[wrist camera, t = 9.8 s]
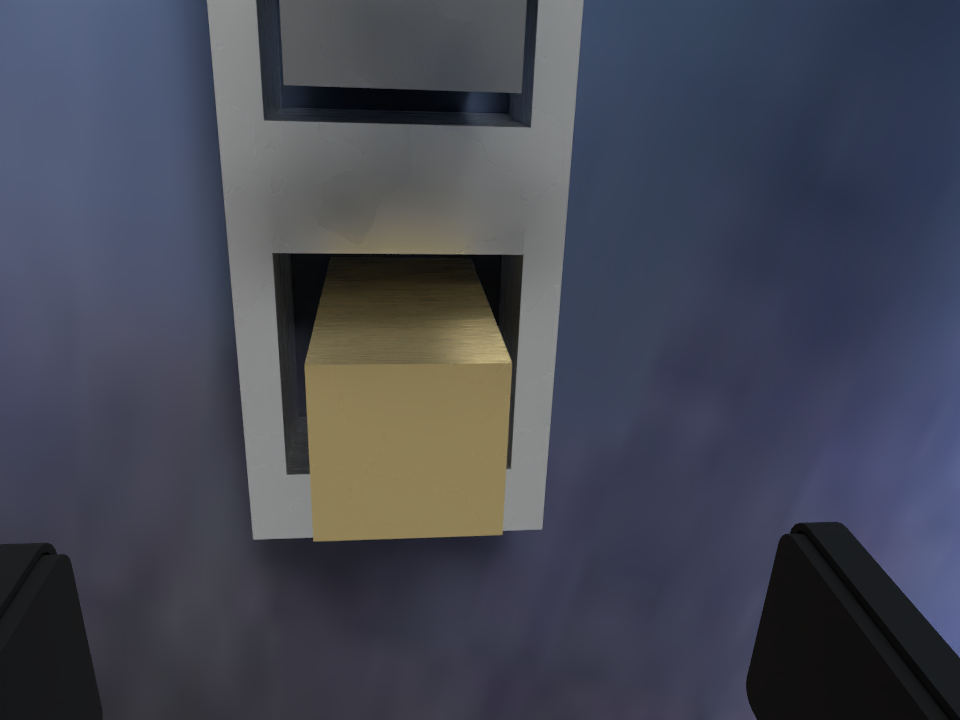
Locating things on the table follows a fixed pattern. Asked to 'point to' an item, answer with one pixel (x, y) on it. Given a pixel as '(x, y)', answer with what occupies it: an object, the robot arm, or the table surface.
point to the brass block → (406, 402)
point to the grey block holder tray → (389, 230)
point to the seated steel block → (404, 44)
